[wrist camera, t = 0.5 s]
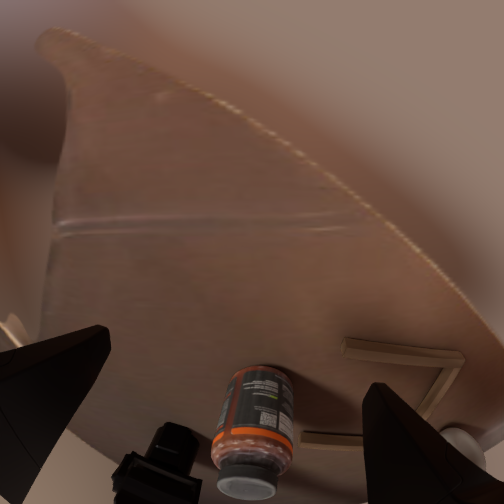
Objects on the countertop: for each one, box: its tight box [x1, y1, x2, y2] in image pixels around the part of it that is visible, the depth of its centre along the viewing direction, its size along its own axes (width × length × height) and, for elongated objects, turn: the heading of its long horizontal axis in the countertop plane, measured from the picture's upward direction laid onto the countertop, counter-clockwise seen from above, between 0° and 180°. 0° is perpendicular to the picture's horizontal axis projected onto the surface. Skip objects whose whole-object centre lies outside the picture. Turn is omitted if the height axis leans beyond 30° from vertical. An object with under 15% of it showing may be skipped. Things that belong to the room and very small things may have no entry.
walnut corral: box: [298, 337, 466, 451], centre depth 23 cm, size 14×13×2 cm
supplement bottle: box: [211, 365, 294, 500], centre depth 19 cm, size 6×6×11 cm
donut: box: [440, 428, 486, 471], centre depth 20 cm, size 10×4×10 cm, turn 63°
